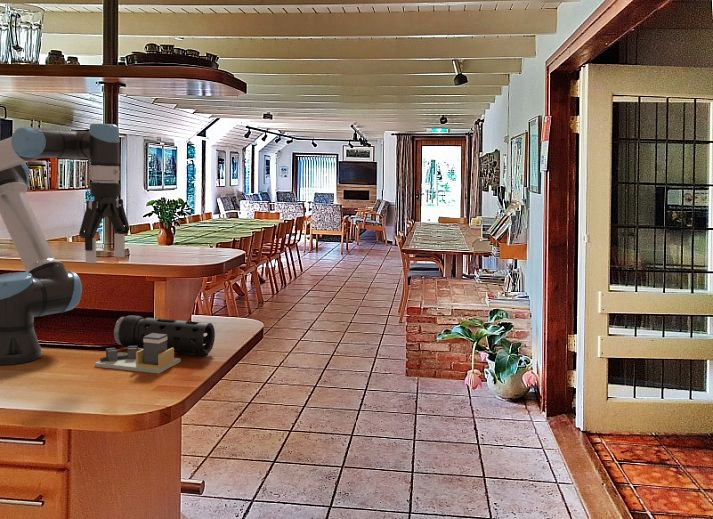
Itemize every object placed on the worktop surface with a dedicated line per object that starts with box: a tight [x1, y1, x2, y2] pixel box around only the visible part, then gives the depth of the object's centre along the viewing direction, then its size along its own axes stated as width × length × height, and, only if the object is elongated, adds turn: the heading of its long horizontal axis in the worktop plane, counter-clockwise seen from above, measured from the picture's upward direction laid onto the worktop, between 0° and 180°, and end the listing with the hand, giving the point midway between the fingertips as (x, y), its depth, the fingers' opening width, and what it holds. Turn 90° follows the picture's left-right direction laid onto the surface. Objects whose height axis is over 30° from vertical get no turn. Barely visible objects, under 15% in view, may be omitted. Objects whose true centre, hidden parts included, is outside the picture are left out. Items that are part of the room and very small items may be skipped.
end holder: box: [136, 348, 175, 369], centre depth 191 cm, size 7×8×4 cm
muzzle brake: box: [113, 314, 216, 357], centre depth 207 cm, size 10×28×10 cm, turn 78°
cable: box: [99, 355, 128, 362], centre depth 195 cm, size 13×3×1 cm, turn 107°
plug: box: [143, 333, 167, 365], centre depth 191 cm, size 5×5×8 cm
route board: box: [94, 346, 181, 375], centre depth 194 cm, size 19×12×4 cm, turn 77°
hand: (105, 259), depth 192 cm, fingers open, 13 cm apart
